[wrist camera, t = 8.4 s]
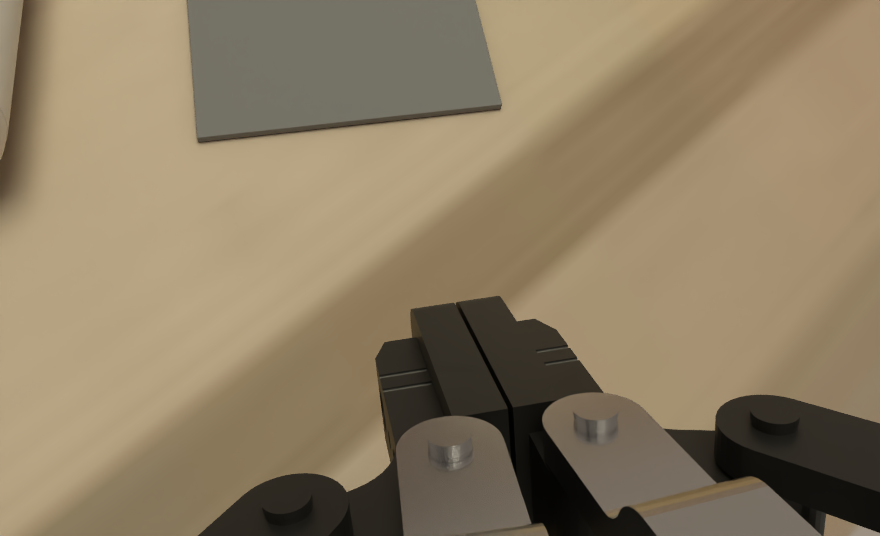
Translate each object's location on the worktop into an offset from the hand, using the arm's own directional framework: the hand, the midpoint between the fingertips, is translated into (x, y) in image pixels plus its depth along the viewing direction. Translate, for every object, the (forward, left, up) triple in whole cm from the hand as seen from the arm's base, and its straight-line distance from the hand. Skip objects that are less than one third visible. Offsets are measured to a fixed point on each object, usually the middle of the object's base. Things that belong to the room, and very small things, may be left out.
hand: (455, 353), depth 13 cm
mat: (-17, +16, -14) cm, 27 cm away
